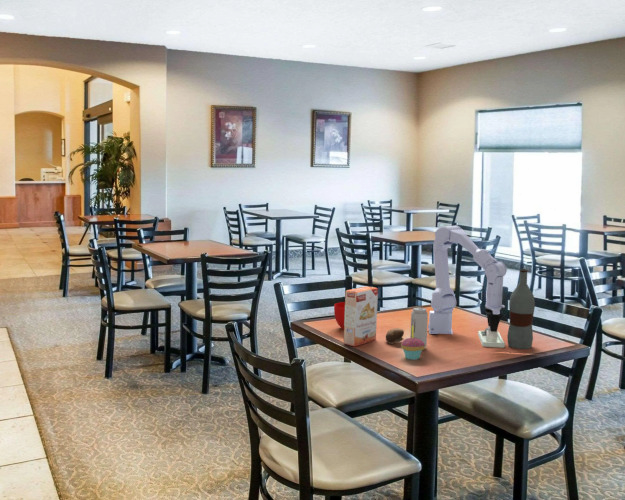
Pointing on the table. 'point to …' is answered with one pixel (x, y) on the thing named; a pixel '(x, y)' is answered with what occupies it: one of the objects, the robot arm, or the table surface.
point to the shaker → (491, 335)
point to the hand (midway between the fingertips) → (492, 328)
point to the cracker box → (360, 315)
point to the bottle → (521, 315)
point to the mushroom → (394, 335)
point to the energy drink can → (419, 324)
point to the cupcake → (412, 346)
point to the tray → (491, 344)
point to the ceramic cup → (340, 313)
